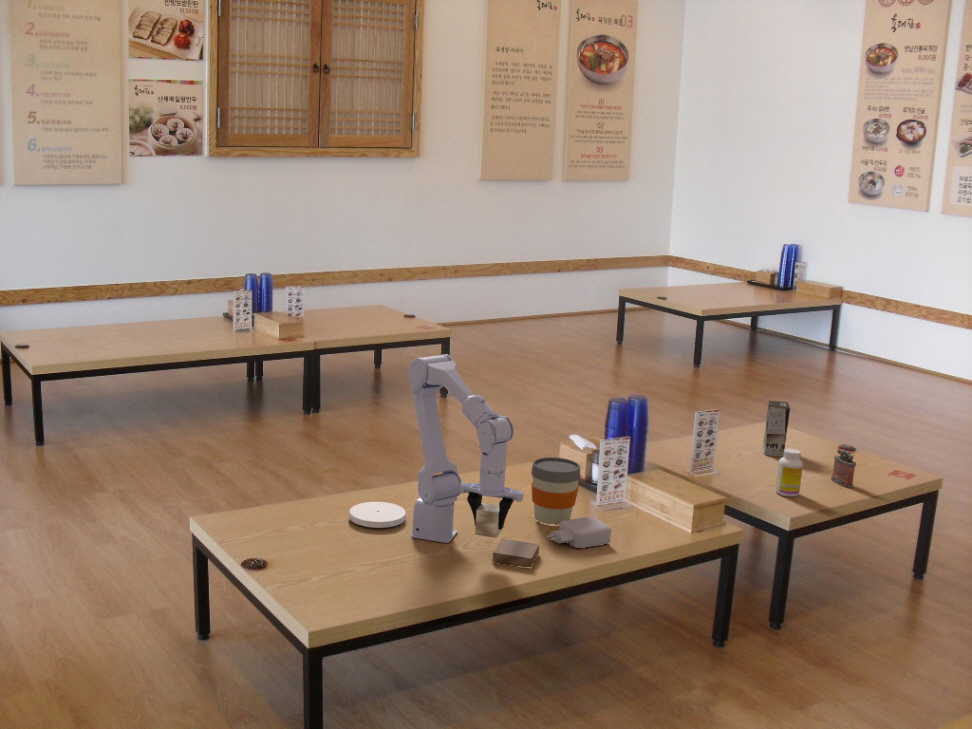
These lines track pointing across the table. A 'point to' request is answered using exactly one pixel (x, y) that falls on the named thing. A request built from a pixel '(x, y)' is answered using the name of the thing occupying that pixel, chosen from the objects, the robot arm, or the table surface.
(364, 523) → the plastic lid
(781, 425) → the coffee box
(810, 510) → the table surface
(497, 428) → the robot arm
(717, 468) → the table surface
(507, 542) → the walnut slab
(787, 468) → the supplement bottle
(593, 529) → the charger
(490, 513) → the maple block
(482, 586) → the table surface
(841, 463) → the lighter
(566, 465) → the reusable coffee cup
